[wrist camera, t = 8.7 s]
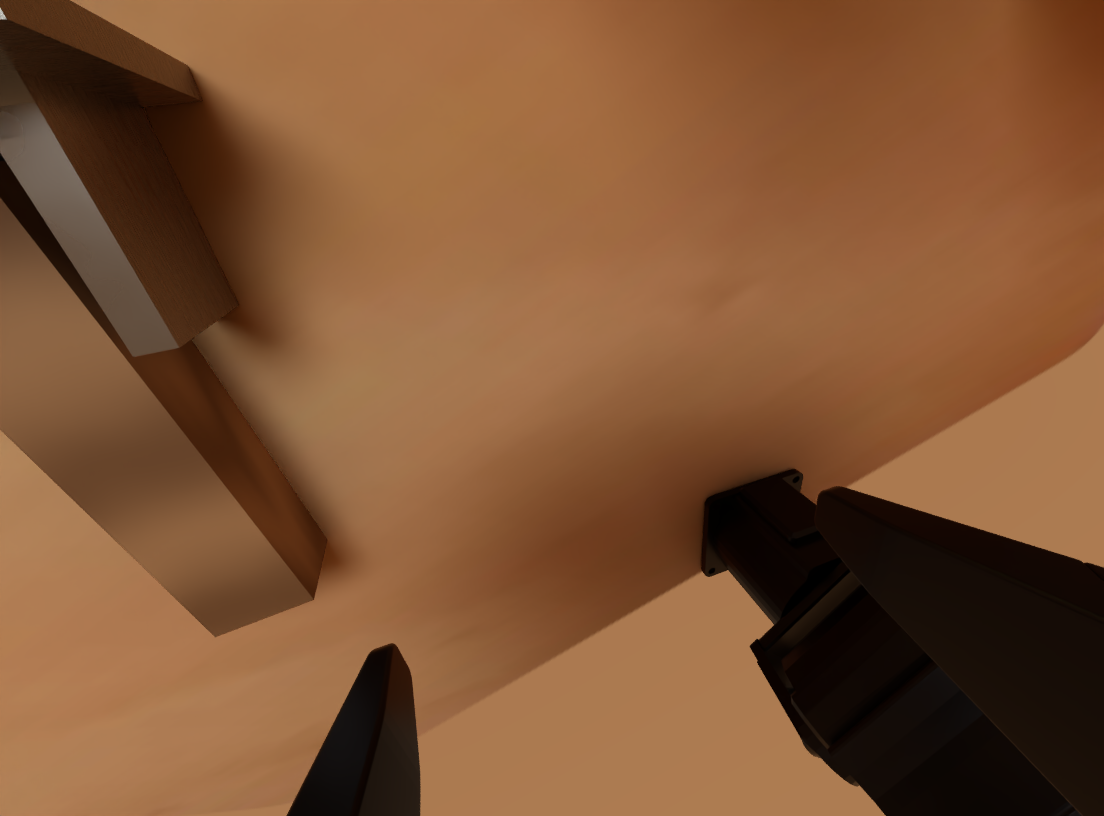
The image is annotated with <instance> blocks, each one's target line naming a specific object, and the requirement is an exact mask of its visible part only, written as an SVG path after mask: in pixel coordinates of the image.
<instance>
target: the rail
mask: <svg viewBox="0 0 1104 816" xmlns="http://www.w3.org/2000/svg"><path fill="white" fill-rule="evenodd" d="M0 430H1V431H2V432H3V433H4V434H5V435H6V436H7V437H8V438H9V439H10V440H12V441H13V442H14V443H15V444H16V445H17V446H18V447H19V448H20V449H21V450H22V451H23V452H24V453H25V454H26V455H27V456H28V457H29V458H30V459H31V460H32V461H33V462H34V463H35V464H36V465H37V466H38V467H39V468H41V469H42V470H43V471H44V472H45V473H46V474H47V475H48V476H49V477H50V478H51V479H52V480H53V481H54V482H55V483H56V484H57V485H58V486H59V487H60V488H61V489H62V490H63V491H64V492H65V493H66V494H67V495H69V496H70V497H71V498H72V499H73V500H74V501H75V502H76V503H77V504H78V505H79V506H80V507H81V508H82V509H83V510H84V511H85V512H86V513H87V514H88V515H89V516H90V517H91V518H92V519H93V520H94V521H95V522H96V523H98V524H99V525H100V526H101V527H102V528H103V529H104V530H105V531H106V532H107V533H108V534H109V535H110V536H111V537H112V538H113V539H114V540H115V541H116V542H117V543H118V544H119V545H120V546H121V547H122V548H123V549H124V550H125V551H127V552H128V553H129V554H130V555H131V556H132V557H133V558H134V559H135V560H136V561H137V562H138V563H139V564H140V565H141V566H142V567H143V568H144V569H145V570H146V571H147V572H148V573H149V574H150V575H151V576H152V577H153V578H155V579H156V580H157V581H158V582H159V583H160V584H161V585H162V586H163V587H164V588H165V589H166V590H167V591H168V592H169V593H170V594H171V595H172V596H173V597H174V598H175V599H176V600H177V601H178V602H179V603H180V604H181V605H182V606H184V607H185V608H186V609H187V610H188V611H189V612H190V613H191V614H192V615H193V616H194V617H195V618H196V619H197V620H198V621H199V622H200V623H201V624H202V625H203V626H204V627H205V628H206V629H207V630H208V631H209V632H210V633H211V634H213V635H214V636H215V637H217V636H220V635H222V634H225V633H228V632H230V631H233V630H235V629H238V628H241V627H243V626H246V625H249V624H251V623H254V622H257V621H259V620H262V619H264V618H267V617H270V616H272V615H275V614H278V613H280V612H283V611H285V610H288V609H291V608H293V607H296V606H299V605H301V604H304V603H306V602H309V601H312V600H314V597H315V592H316V588H317V583H318V579H319V574H320V570H321V565H322V561H323V556H324V552H325V548H326V543H327V539H326V537H325V536H324V534H323V533H322V531H321V530H320V528H319V527H318V525H317V524H316V523H315V521H314V520H313V518H312V517H311V515H310V514H309V512H308V511H307V509H306V508H305V506H304V505H303V503H302V502H301V500H300V499H299V498H298V496H297V495H296V493H295V492H294V490H293V489H292V487H291V486H290V484H289V483H288V481H287V480H286V478H285V477H284V475H283V474H282V472H281V471H280V470H279V468H278V467H277V465H276V464H275V462H274V461H273V459H272V458H271V456H270V455H269V453H268V452H267V450H266V449H265V447H264V446H263V444H262V443H261V442H260V440H259V439H258V437H257V436H256V434H255V433H254V431H253V430H252V428H251V427H250V425H249V424H248V422H247V421H246V419H245V418H244V417H243V415H242V414H241V412H240V411H239V409H238V408H237V406H236V405H235V403H234V402H233V400H232V399H231V397H230V396H229V394H228V393H227V391H226V390H225V389H224V387H223V386H222V384H221V383H220V381H219V380H218V378H217V377H216V375H215V374H214V372H213V371H212V369H211V368H210V366H209V365H208V363H207V362H206V361H205V359H204V358H203V356H202V355H201V353H200V352H199V350H198V349H197V347H196V346H195V344H194V343H193V341H192V340H189V341H188V342H187V343H185V344H184V345H183V346H181V347H180V348H176V349H171V350H166V351H161V352H156V353H151V354H146V355H141V356H136V357H133V356H132V354H131V353H130V351H129V350H128V348H127V347H126V345H125V344H124V342H123V341H122V339H121V338H120V336H119V334H118V333H117V331H116V330H115V328H114V327H113V325H112V324H111V322H110V321H109V319H108V318H107V316H106V314H105V313H104V311H103V310H102V308H101V307H100V305H99V304H98V302H97V301H96V299H95V298H94V296H93V294H92V293H91V291H90V290H89V288H88V287H87V285H86V284H85V282H84V281H83V279H82V278H81V276H80V274H79V273H78V271H77V270H76V268H75V267H74V265H73V264H72V262H71V261H70V259H69V258H68V256H67V255H66V253H65V251H64V250H63V248H62V247H61V245H60V244H59V242H58V241H57V239H56V238H55V236H54V235H53V233H52V231H51V230H50V228H49V227H48V225H47V224H46V222H45V221H44V219H43V218H42V216H41V215H40V213H39V211H38V210H37V208H36V207H35V205H34V204H33V202H32V201H31V199H30V198H29V196H28V195H27V193H26V191H25V190H24V188H23V187H22V185H21V184H20V182H19V181H18V179H17V178H16V176H15V175H14V173H13V171H12V170H11V168H10V167H9V165H8V164H7V162H6V161H0Z"/></svg>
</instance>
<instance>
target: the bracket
mask: <svg viewBox="0 0 1104 816" xmlns="http://www.w3.org/2000/svg"><path fill="white" fill-rule="evenodd" d="M198 101H203V100H202V98H201V96H200V93H199V91H198V89H197V87H196V84H195V82H194V80H193V77H192V75H191V73H190V70H189V68H188V66H187V65H186V64H184V63H182V62H181V61H179V60H177V59H175V58H173V57H171V56H170V55H168V54H166V53H164V52H162V51H161V50H159V49H157V48H155V47H153V46H152V45H150V44H148V43H146V42H144V41H142V40H141V39H139V38H137V37H135V36H133V35H132V34H130V33H128V32H126V31H124V30H123V29H121V28H119V27H117V26H115V25H114V24H112V23H110V22H108V21H106V20H104V19H103V18H101V17H99V16H97V15H95V14H94V13H92V12H90V11H88V10H86V9H85V8H83V7H81V6H79V5H77V4H76V3H74V2H72V1H70V0H0V161H6V162H7V164H8V165H9V167H10V168H11V170H12V171H13V173H14V175H15V176H16V178H17V179H18V181H19V182H20V184H21V185H22V187H23V188H24V190H25V191H26V193H27V195H28V196H29V198H30V199H31V201H32V202H33V204H34V205H35V207H36V208H37V210H38V211H39V213H40V215H41V216H42V218H43V219H44V221H45V222H46V224H47V225H48V227H49V228H50V230H51V231H52V233H53V235H54V236H55V238H56V239H57V241H58V242H59V244H60V245H61V247H62V248H63V250H64V251H65V253H66V255H67V256H68V258H69V259H70V261H71V262H72V264H73V265H74V267H75V268H76V270H77V271H78V273H79V274H80V276H81V278H82V279H83V281H84V282H85V284H86V285H87V287H88V288H89V290H90V291H91V293H92V294H93V296H94V298H95V299H96V301H97V302H98V304H99V305H100V307H101V308H102V310H103V311H104V313H105V314H106V316H107V318H108V319H109V321H110V322H111V324H112V325H113V327H114V328H115V330H116V331H117V333H118V334H119V336H120V338H121V339H122V341H123V342H124V344H125V345H126V347H127V348H128V350H129V351H130V353H131V354H132V356H133V357H136V356H141V355H146V354H151V353H156V352H161V351H166V350H171V349H176V348H180V347H181V346H183V345H184V344H185V343H187V342H188V341H189V340H191V339H192V338H194V337H195V336H196V335H198V334H199V333H201V332H202V331H203V330H205V329H206V328H208V327H209V326H210V325H212V324H213V323H215V322H216V321H217V320H219V319H220V318H222V317H223V316H224V315H226V314H227V313H229V312H230V311H231V310H233V309H234V308H235V307H237V306H238V305H239V304H238V302H237V300H236V298H235V296H234V294H233V292H232V290H231V288H230V286H229V284H228V281H227V279H226V277H225V275H224V273H223V271H222V269H221V267H220V265H219V263H218V261H217V259H216V257H215V255H214V253H213V251H212V249H211V247H210V245H209V243H208V241H207V239H206V237H205V235H204V233H203V231H202V228H201V226H200V224H199V222H198V220H197V218H196V216H195V214H194V212H193V210H192V208H191V206H190V204H189V202H188V200H187V198H186V196H185V194H184V192H183V190H182V188H181V186H180V184H179V182H178V180H177V178H176V176H175V173H174V171H173V169H172V167H171V165H170V163H169V161H168V159H167V157H166V155H165V153H164V151H163V149H162V147H161V145H160V143H159V141H158V139H157V137H156V135H155V133H154V131H153V129H152V127H151V125H150V123H149V120H148V118H147V116H146V114H145V112H144V110H143V108H142V107H150V106H160V105H169V104H179V103H189V102H198Z"/></svg>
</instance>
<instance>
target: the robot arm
mask: <svg viewBox="0 0 1104 816" xmlns="http://www.w3.org/2000/svg"><path fill="white" fill-rule="evenodd" d="M802 480H803V474H802V473H801V472H799V471H798V470H796V469H792V470H789V471H786V472H783V473H780V474H777V475H774V476H771V477H768V478H765V479H762V480H759V481H756V482H753V483H749V484H746V485H743V486H740V487H737V488H734V489H731V490H728V491H725V492H722V493H719V494H716V495H713V496H711V497H709V498H708V499H707V501H706V502H705V511H704V530H703V548H702V567H701V569H702V571H703V573H704V574H705V575H706V576H708V577H710V576H713V575H716V574H718V573H721V572H724V571H727V570H729V571H730V573H731V574H732V575H733V576H734V577H735V579H736V580H737V581H738V582H739V583H740V585H741V586H742V587H743V588H744V589H745V590H746V592H747V593H748V594H749V595H750V596H751V598H752V599H753V600H754V601H755V602H756V604H757V605H758V606H759V607H760V608H761V610H762V611H763V612H764V613H765V614H766V615H767V617H768V618H769V619H770V620H771V621H772V623H773V624H774V626H773V627H772V628H771V629H770V630H769V631H768V632H766V633H765V635H764V636H763V637H762V638H760V639H759V640H758V639H756V640H755V641H754V642H753V643H752V644H751V645H750V648H751V650H752V652H753V653H754V655H755V657H756V658H757V660H758V661H757V663H758V665H759V667H760V668H761V670H762V672H763V674H764V675H765V677H766V679H767V680H768V682H769V684H770V686H771V687H772V689H773V691H774V692H775V694H776V696H777V698H778V699H779V701H780V703H781V704H782V706H783V708H784V710H785V712H786V713H787V715H788V717H789V718H790V720H791V722H792V723H793V725H794V727H795V729H796V731H797V732H798V734H799V735H800V738H801V740H802V742H803V744H804V746H805V748H806V749H807V750H808V751H809V752H810V753H811V754H812V755H813V756H815V757H818V758H822V759H823V761H824V762H825V763H826V764H827V765H828V766H829V767H830V768H831V769H832V770H833V771H834V772H836V773H837V774H838V775H839V776H840V777H842V778H843V779H844V780H845V781H847V782H848V783H850V784H852V785H854V786H859V785H860V786H861V787H862V788H863V790H864V791H865V792H866V793H867V794H868V795H869V796H870V797H871V799H872V800H873V801H874V802H875V803H876V804H877V806H878V807H879V808H880V809H881V810H882V812H883V813H884V814H885V815H886V816H1104V568H1103V567H1100V566H1097V565H1094V564H1091V563H1083V562H1082V561H1080V560H1077V559H1074V558H1071V557H1068V556H1064V555H1061V554H1058V553H1054V552H1051V551H1048V550H1045V549H1042V548H1038V547H1035V546H1032V545H1029V544H1025V543H1022V542H1019V541H1016V540H1012V539H1009V538H1006V537H1003V536H1000V535H997V534H993V533H990V532H987V531H984V530H980V529H977V528H974V527H971V526H968V525H964V524H961V523H958V522H954V521H951V520H948V519H945V518H942V517H939V516H935V515H932V514H929V513H926V512H922V511H919V510H916V509H913V508H909V507H906V506H903V505H900V504H896V503H893V502H890V501H887V500H884V499H880V498H877V497H874V496H871V495H868V494H864V493H861V492H858V491H855V490H851V489H848V488H845V487H841V486H835V487H832V488H829V489H826V490H823V491H821V492H820V493H819V495H818V499H817V505H816V504H814V503H813V502H812V501H810V500H809V499H808V498H807V497H805V496H804V495H803V494H801V493H800V490H801V485H802ZM287 816H420V765H419V752H418V741H417V730H416V718H415V707H414V696H413V685H412V677H411V673H410V670H409V667H408V665H407V664H406V662H405V660H404V658H403V656H402V654H401V653H400V651H399V649H398V647H397V646H396V645H395V644H393V643H391V644H388V645H385V646H382V647H379V648H376V649H374V650H372V651H371V652H370V653H369V655H368V656H367V658H366V660H365V662H364V664H363V666H362V668H361V670H360V672H359V674H358V676H357V678H356V680H355V682H354V684H353V686H352V688H351V690H350V692H349V694H348V696H347V698H346V700H345V702H344V704H343V706H342V707H341V709H340V711H339V713H338V715H337V717H336V719H335V721H334V723H333V725H332V727H331V729H330V731H329V733H328V735H327V737H326V739H325V741H324V743H323V745H322V747H321V749H320V751H319V753H318V755H317V757H316V759H315V761H314V763H313V764H312V766H311V768H310V770H309V772H308V774H307V776H306V778H305V780H304V782H303V784H302V786H301V788H300V790H299V792H298V794H297V796H296V798H295V800H294V802H293V804H292V806H291V808H290V810H289V812H288V814H287Z"/></svg>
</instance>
